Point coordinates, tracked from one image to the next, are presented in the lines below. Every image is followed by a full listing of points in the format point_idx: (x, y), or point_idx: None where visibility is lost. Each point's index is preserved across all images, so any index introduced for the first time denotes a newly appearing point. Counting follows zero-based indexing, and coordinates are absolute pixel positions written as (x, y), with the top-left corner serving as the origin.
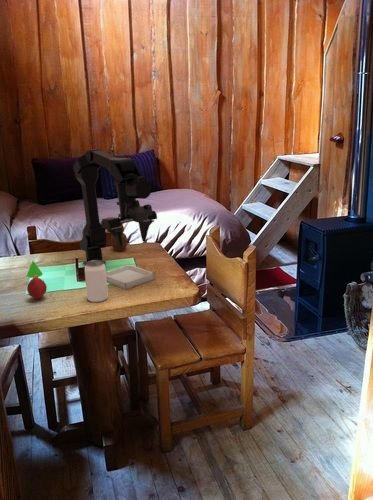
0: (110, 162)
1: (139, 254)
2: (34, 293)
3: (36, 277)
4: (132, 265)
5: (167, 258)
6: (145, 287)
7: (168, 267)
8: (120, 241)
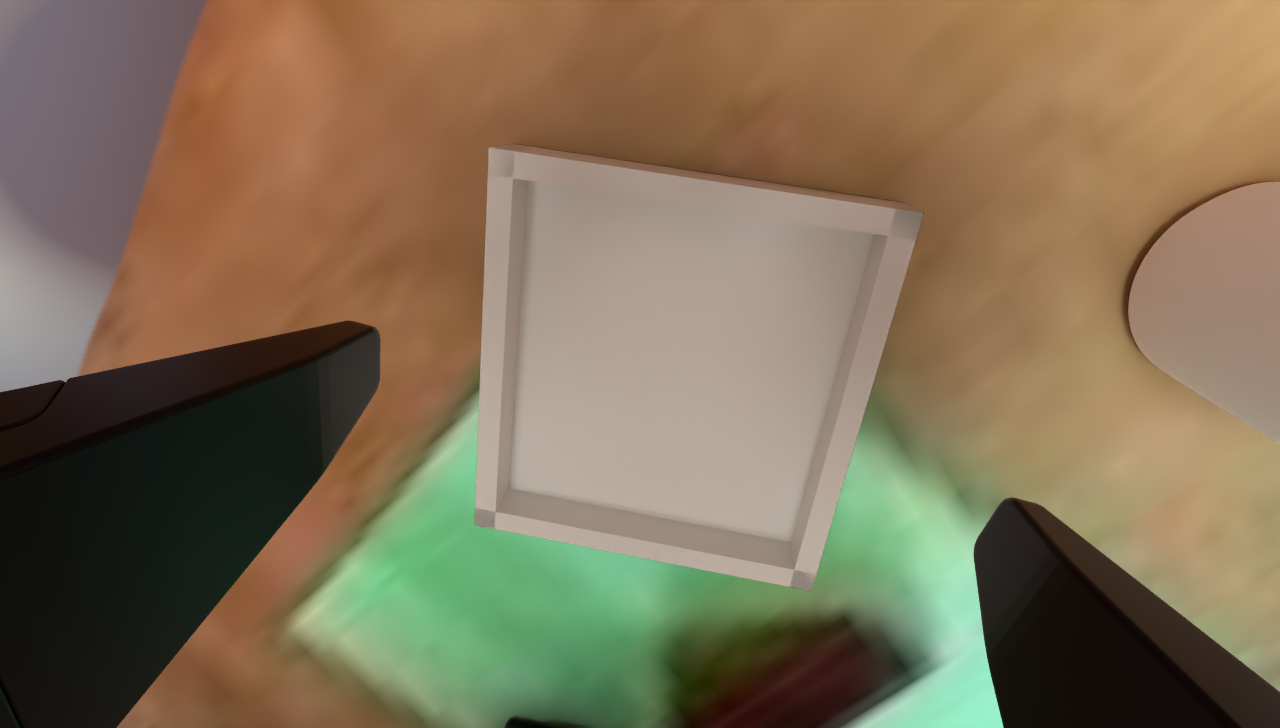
0: None
1: (209, 628)
2: None
3: None
4: (477, 483)
5: None
6: (746, 64)
7: (212, 240)
8: (1165, 616)
